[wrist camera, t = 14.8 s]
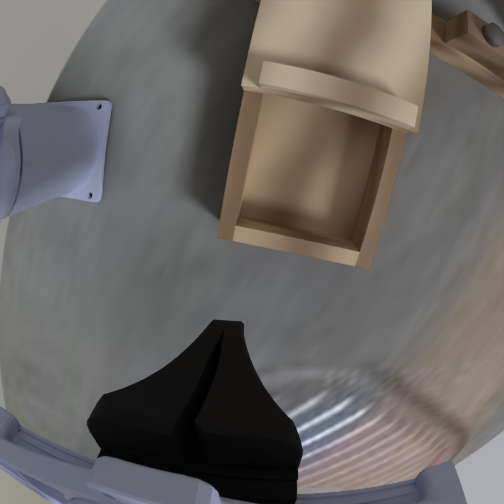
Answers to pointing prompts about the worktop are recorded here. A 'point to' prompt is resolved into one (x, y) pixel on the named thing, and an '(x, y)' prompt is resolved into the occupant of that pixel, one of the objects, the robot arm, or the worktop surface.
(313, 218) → the brown piece
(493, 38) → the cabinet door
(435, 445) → the worktop surface
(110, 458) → the robot arm
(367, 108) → the lid
